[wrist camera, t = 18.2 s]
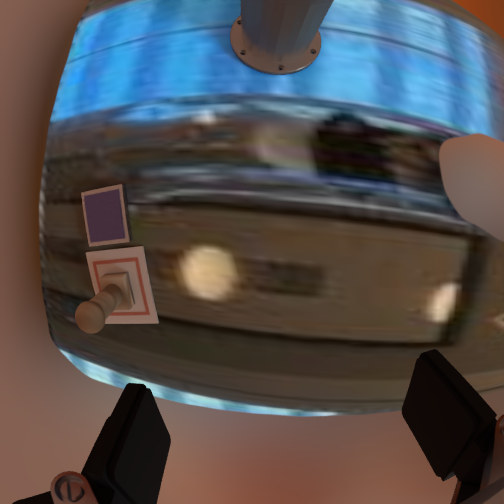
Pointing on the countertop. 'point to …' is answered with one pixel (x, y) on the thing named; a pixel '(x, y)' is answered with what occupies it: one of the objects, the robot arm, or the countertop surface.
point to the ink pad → (107, 215)
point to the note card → (139, 278)
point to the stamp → (105, 302)
